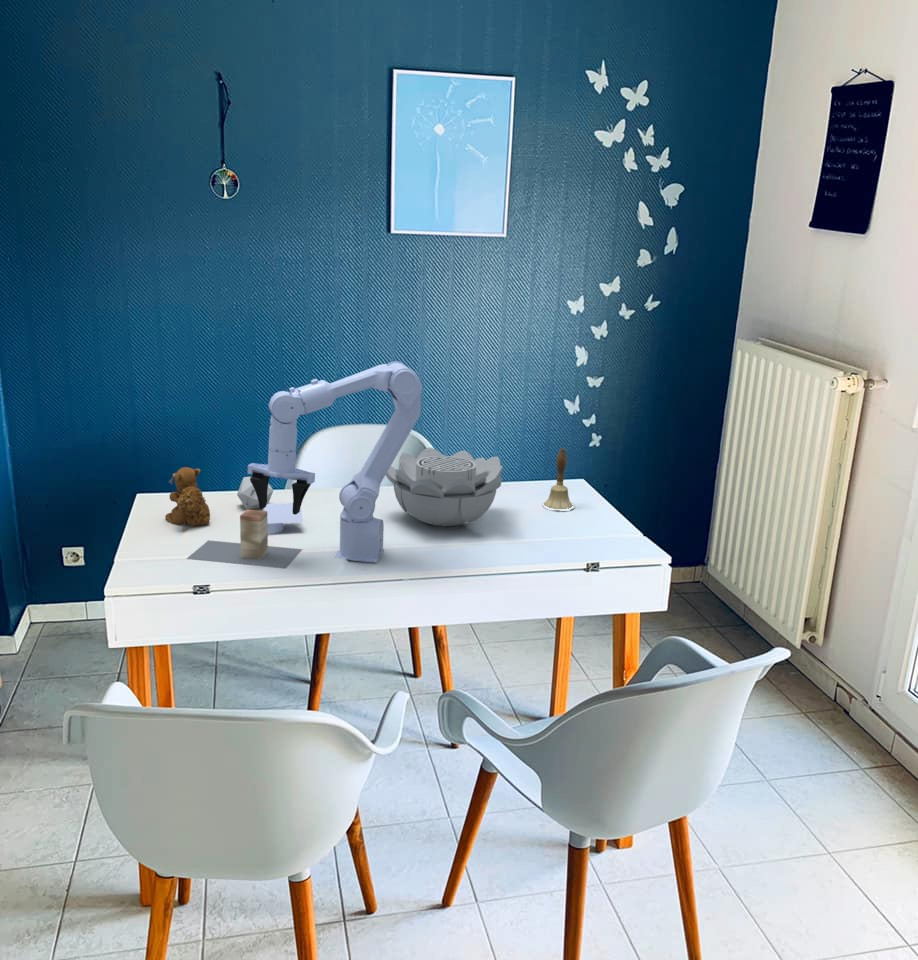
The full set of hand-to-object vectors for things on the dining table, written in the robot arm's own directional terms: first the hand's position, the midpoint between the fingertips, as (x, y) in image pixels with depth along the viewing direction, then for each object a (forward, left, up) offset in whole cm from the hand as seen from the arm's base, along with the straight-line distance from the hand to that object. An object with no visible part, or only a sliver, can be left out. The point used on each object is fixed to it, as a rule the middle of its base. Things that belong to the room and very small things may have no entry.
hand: (279, 510), depth 204 cm
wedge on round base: (+8, -18, -12) cm, 23 cm away
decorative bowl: (-31, -36, -12) cm, 49 cm away
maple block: (+6, 0, -11) cm, 12 cm away
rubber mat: (+8, 0, -11) cm, 14 cm away
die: (+18, -34, -12) cm, 40 cm away
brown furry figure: (+28, -18, -12) cm, 35 cm away
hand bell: (-58, -56, -12) cm, 82 cm away
